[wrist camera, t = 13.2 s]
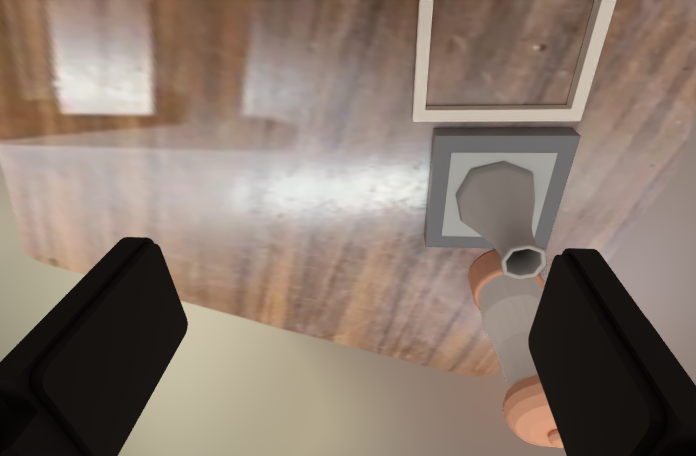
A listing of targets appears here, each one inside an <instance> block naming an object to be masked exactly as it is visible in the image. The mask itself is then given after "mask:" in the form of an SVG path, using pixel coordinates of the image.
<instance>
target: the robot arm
mask: <svg viewBox="0 0 696 456" xmlns="http://www.w3.org/2000/svg"><path fill="white" fill-rule="evenodd" d="M187 326H188V322H187V318H186V315H185V313H184V310H183V307H182V304H181V302H180V299H179V296H178V294H177V291H176V288H175V286H174V283H173V280H172V278H171V275H170V272H169V270H168V267H167V264H166V262H165V259H164V256H163V254H162V251H161V249H160V247H159V246H158V245H157V244H154V242H153V241H152V240H151V239H150V238H140V237H125V238H122V239H121V240H120V241H119V242H118V243H117V244H116V245H115V246H114V247H113V248H112V249H111V250H110V251H109V252H108V253H107V254H106V255H105V256H104V257H103V258H102V259H101V260H100V261H99V262H98V263H97V264H96V265H95V266H94V267H93V268H92V269H91V270H90V271H89V272H88V273H87V274H86V275H85V276H84V277H83V278H82V279H81V281H79V283H78V284H76V286H75V287H74V288H73V289H72V290H71V291H70V292H69V293H68V294H67V295H66V296H65V297H64V298H63V299H62V300H61V301H60V302H59V303H58V304H57V305H56V306H55V307H54V308H53V309H52V310H51V311H50V312H49V313H48V314H47V315H46V316H45V317H44V318H43V319H42V320H41V321H40V322H39V323H38V324H37V325H36V326H35V327H34V328H33V329H32V330H31V331H30V332H29V333H28V334H27V335H26V337H24V339H23V340H22V341H20V342H19V344H18V345H17V346H16V347H15V348H14V349H13V350H12V351H11V352H10V353H9V354H8V355H7V356H6V357H5V358H4V359H3V360H2V361H1V362H0V456H118V454H119V452H120V451H121V449H122V447H123V445H124V443H125V442H126V440H127V438H128V436H129V434H130V433H131V431H132V429H133V427H134V425H135V424H136V422H137V420H138V418H139V416H140V415H141V413H142V411H143V409H144V408H145V406H146V404H147V402H148V400H149V399H150V397H151V395H152V393H153V391H154V390H155V387H156V386H157V384H158V382H159V381H160V379H161V377H162V375H163V373H164V371H165V370H166V368H167V366H168V364H169V363H170V361H171V359H172V357H173V355H174V354H175V352H176V350H177V348H178V347H179V345H180V343H181V341H182V339H183V338H184V336H185V334H186V331H187ZM528 345H529V351H530V354H531V356H532V359H533V362H534V365H535V368H536V371H537V373H538V376H539V379H540V382H541V385H542V387H543V390H544V393H545V396H546V399H547V401H548V404H549V407H550V410H551V413H552V415H553V418H554V421H555V424H556V427H557V429H558V432H559V435H560V438H561V441H562V443H563V446H564V449H565V452H566V455H567V456H696V385H695V384H694V383H693V381H692V380H691V378H690V377H689V376H688V375H687V373H686V371H685V370H684V369H683V367H682V366H681V365H680V363H679V362H678V360H677V359H676V358H675V356H674V355H673V353H672V352H671V351H670V349H669V348H668V346H667V345H666V344H665V342H664V341H663V340H662V338H661V337H660V335H659V334H658V333H657V331H656V330H655V328H654V327H653V326H652V324H651V323H650V322H649V320H648V319H647V318H646V317H645V315H644V314H643V313H642V311H641V310H640V309H639V307H638V306H637V304H636V303H635V302H634V300H633V299H632V297H631V296H630V295H629V293H628V292H627V291H626V289H625V288H624V286H623V285H622V283H621V282H620V281H619V279H618V278H617V277H616V275H615V274H614V272H613V271H612V270H611V268H610V267H609V265H608V264H607V263H606V261H605V260H604V258H603V257H602V256H601V254H600V253H599V252H598V251H597V250H595V249H575V248H568V249H565V250H564V251H563V253H562V255H556V256H555V257H554V259H553V262H552V265H551V268H550V271H549V275H548V278H547V281H546V284H545V287H544V290H543V293H542V296H541V299H540V302H539V305H538V308H537V312H536V315H535V318H534V321H533V324H532V327H531V330H530V333H529V337H528Z"/></svg>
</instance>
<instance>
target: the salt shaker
mask: <svg viewBox="0 0 696 456" xmlns="http://www.w3.org/2000/svg"><path fill="white" fill-rule="evenodd" d="M469 281H470V285H471V289H472V293H473V297H474V302H475V304H476V306H477V307H478V308H479V310H480V311H481V315H482V320H483V324H484V329H485V331H486V333H487V335H488V337H489V339H490V341H491V344H492V346H493V348H494V350H495V352H496V354H497V356H498V358H499V362H500V365H501V369H502V372H503V376H504V379H505V383H506V386H507V390H508V391H507V393H506V396H505V399H504V402H503V414H504V418H505V420H506V422H507V423H508V425H509V427H510V428H511V429H512V430H513V431H514V432H515V433H516V434H517V435H518V436H519V437H520V438H521V439H523V440H525V441H527V442H529V443H532V444H536V445H539V446H550V447H557V448H564V446H563V443H562V441H561V438H560V435H559V432H558V429H557V427H556V424H555V421H554V418H553V415H552V413H551V410H550V407H549V404H548V401H547V399H546V396H545V393H544V390H543V387H542V385H541V382H540V379H539V376H538V373H537V371H536V368H535V365H534V362H533V359H532V356H531V354H530V351H529V345H528V337H529V333H530V330H531V327H532V324H533V321H534V318H535V315H536V312H537V308H538V305H539V302H540V299H541V296H542V293H543V290H544V287H545V284H544V282H543V280H542V277H541V275H540V273H539V274H538V275H537V277H533V278H526V279H520V280H517V279H515V278H512V277H509V276H506V275H503V273H502V266H501V256H500V255H499V253H498V252H497V251H496V250H492V251H490V252H488V253H486V254H484V255H482V256H481V257H479V258H478V259H477V260H476V261H475V262H474V263H473V265H472V266H471V268H470V271H469Z"/></svg>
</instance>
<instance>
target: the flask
mask: <svg viewBox="0 0 696 456" xmlns="http://www.w3.org/2000/svg"><path fill="white" fill-rule="evenodd" d="M456 200H457V205H458V210H459V216H460V220H461V221H462V222H463V223H464V224H466V225H467V226H468V227H470V228H471V229H473V230H474V231H476V232H477V233H478V234H479V235H481V236H482V237H483V238H484V239H486V240H487V241H488V242H489V243H491V244H492V245H493V247H494V248H495V249H496V251H497V252H498V253H499V255H500V256H501V266H502V273H503V275H506V276H509V277H512V278H515V279H517V280H520V279H526V278H533V277H537V275H538V274H539V273H540V272H541V271H542V270H543V268H544V267H545V266H546V265H547V263H546V251H545V249H544V248H543V247H540V246H538V245H537V243H536V241H535V239H534V237H533V232H532V221H533V213H534V206H535V192H534V178H533V173H532V172H530V171H527V170H524V169H522V168H519V167H516V166H514V165H511V164H509V163H506V162H501V163H497V164H493V165H489V166H484V167H480V168H476V169H471V170H470V172H469V174H468V175H467V177H466V179H465V180H464V182H463V184H462V186H461V187H460V189H459V191H458V192H457V194H456Z"/></svg>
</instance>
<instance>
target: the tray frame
mask: <svg viewBox="0 0 696 456" xmlns="http://www.w3.org/2000/svg"><path fill="white" fill-rule="evenodd" d="M615 3H616V0H594V4H593V7H592V11H591V15H590V18H589V22H588V26H587V29H586V33H585V37H584V40H583V44H582V48H581V52H580V55H579V59H578V63H577V66H576V70H575V74H574V77H573V81H572V85H571V88H570V92H569V96H568V99H567V103H566V105H505V106H426V92H427V78H428V65H429V51H430V38H431V24H432V11H433V0H419V4H418V22H417V40H416V58H415V76H414V94H413V112H412V120H413V122H472V121H581V117H582V114H583V111H584V107H585V104H586V101H587V97H588V94H589V91H590V87H591V84H592V80H593V77H594V74H595V70H596V67H597V64H598V60H599V57H600V54H601V50H602V47H603V44H604V40H605V37H606V34H607V30H608V27H609V23H610V20H611V17H612V13H613V10H614V7H615Z"/></svg>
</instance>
